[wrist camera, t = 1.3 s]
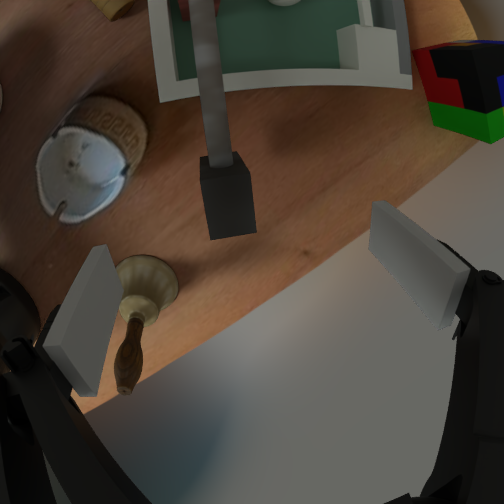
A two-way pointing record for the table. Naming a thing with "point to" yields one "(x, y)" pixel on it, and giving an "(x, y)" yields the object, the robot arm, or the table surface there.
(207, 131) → the striker
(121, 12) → the kendama
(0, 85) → the teacup with lid
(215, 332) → the table surface
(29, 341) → the robot arm
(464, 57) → the puzzle toy
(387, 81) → the pitch
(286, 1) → the ball
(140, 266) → the hand bell
